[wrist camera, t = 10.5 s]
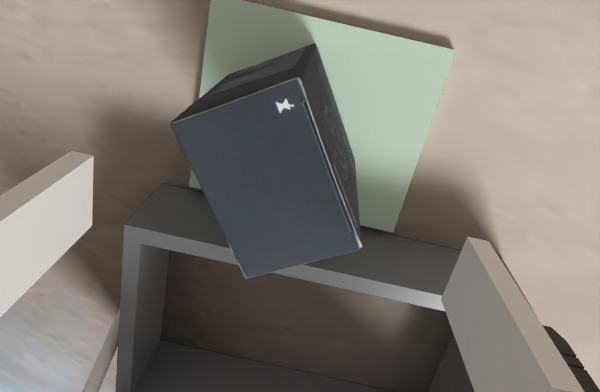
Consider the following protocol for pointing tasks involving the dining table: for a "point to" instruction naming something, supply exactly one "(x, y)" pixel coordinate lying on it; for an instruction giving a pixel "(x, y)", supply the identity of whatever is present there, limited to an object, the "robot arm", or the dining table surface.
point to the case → (329, 271)
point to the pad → (344, 89)
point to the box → (275, 163)
